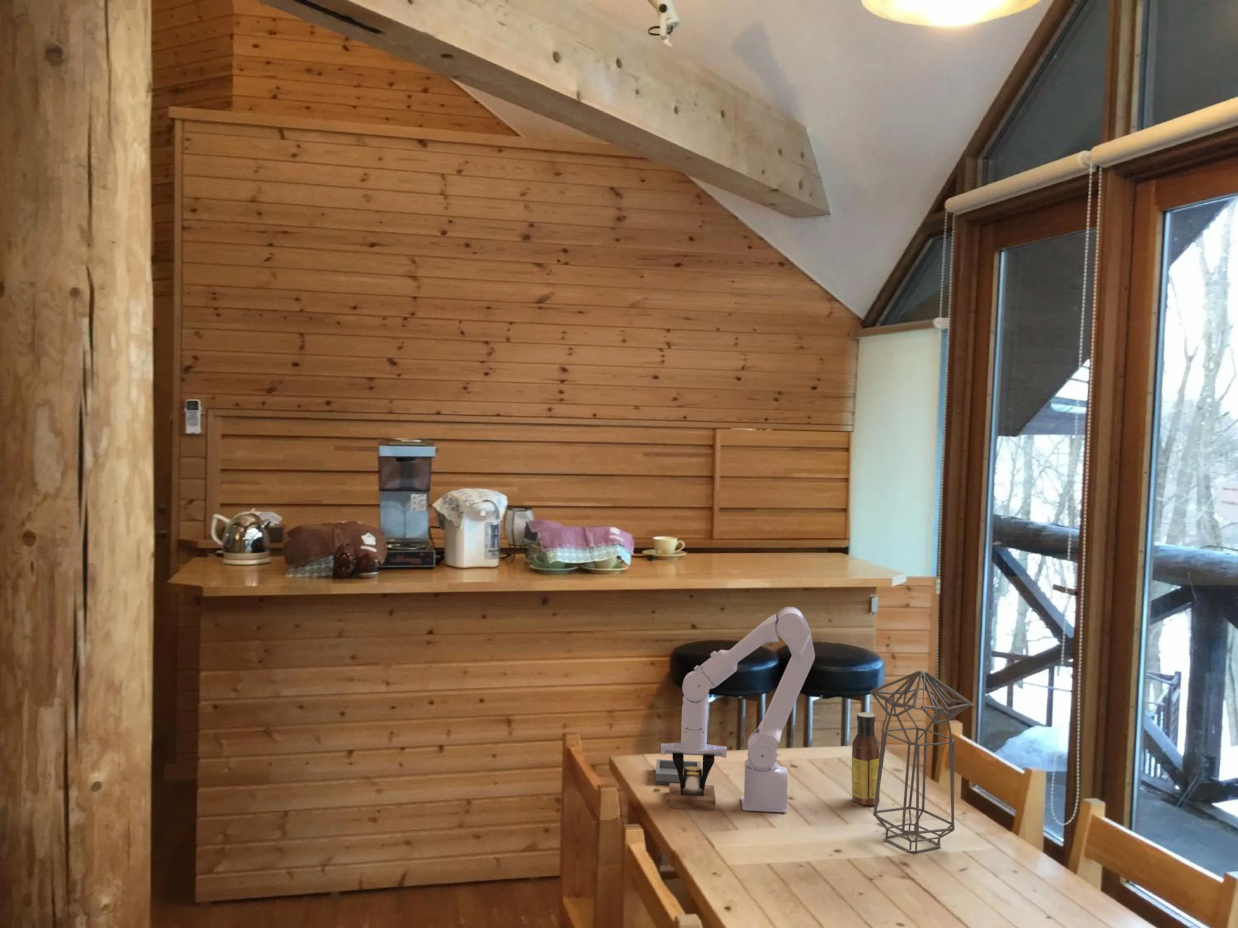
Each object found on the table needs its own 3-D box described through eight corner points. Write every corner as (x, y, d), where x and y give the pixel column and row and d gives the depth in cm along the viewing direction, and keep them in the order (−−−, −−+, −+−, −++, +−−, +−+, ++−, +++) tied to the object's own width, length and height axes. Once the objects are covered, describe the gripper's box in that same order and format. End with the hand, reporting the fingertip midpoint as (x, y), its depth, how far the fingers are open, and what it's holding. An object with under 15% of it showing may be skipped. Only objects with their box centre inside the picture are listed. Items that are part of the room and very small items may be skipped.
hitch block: (713, 793, 230) (713, 785, 230) (715, 809, 220) (715, 800, 220) (669, 791, 230) (669, 782, 230) (669, 807, 220) (669, 798, 220)
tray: (700, 771, 245) (700, 761, 245) (701, 786, 235) (701, 775, 235) (656, 769, 246) (656, 759, 246) (655, 783, 235) (655, 773, 235)
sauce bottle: (877, 797, 231) (881, 711, 230) (882, 807, 225) (885, 718, 224) (848, 796, 231) (851, 709, 231) (852, 805, 225) (855, 716, 225)
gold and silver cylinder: (700, 797, 227) (701, 766, 227) (701, 803, 223) (702, 772, 223) (682, 796, 227) (683, 765, 227) (682, 802, 223) (684, 771, 223)
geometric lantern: (857, 834, 209) (865, 664, 209) (917, 826, 215) (925, 661, 216) (909, 862, 195) (918, 680, 195) (971, 853, 201) (980, 677, 201)
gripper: (726, 723, 228) (724, 782, 229) (662, 720, 229) (660, 779, 230) (727, 731, 221) (725, 793, 222) (661, 728, 222) (659, 790, 222)
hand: (692, 787), depth 225 cm, fingers closed on gold and silver cylinder, 4 cm apart
